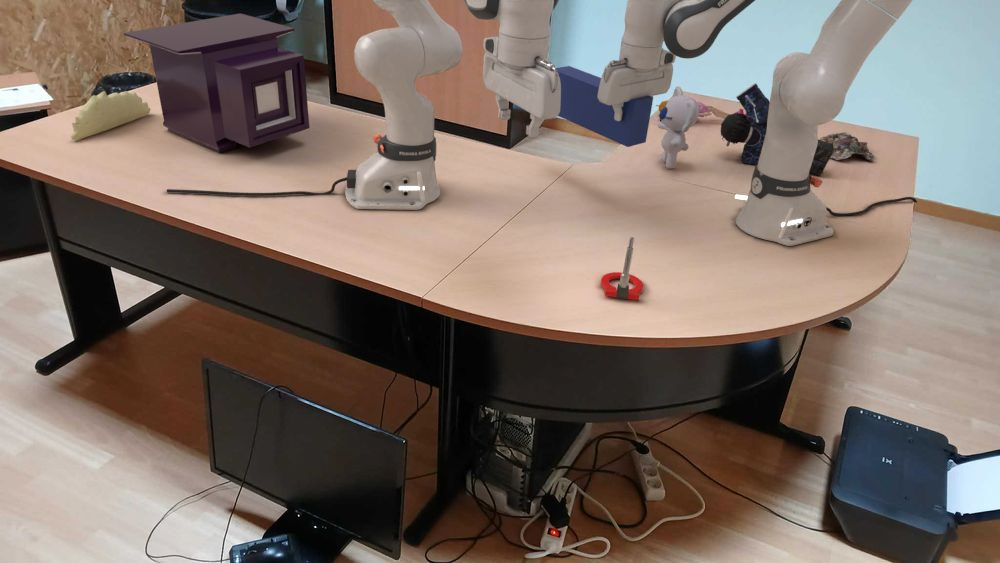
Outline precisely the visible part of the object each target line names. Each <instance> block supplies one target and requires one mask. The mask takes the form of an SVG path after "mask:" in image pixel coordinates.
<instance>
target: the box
mask: <svg viewBox="0 0 1000 563" xmlns="http://www.w3.org/2000/svg"><path fill="white" fill-rule="evenodd" d="M555 69H556V71H557V72H558V74H559V78H560V83H561V105H560V113H559V114H558V116H557V117H559V118H561V119H564V120H566V121H568V122H570V123H573V124H575V125H577V126H580V127H581V128H584V129H586V130H589V131H591V132H593V133H595V134H598V135H600V136H601V137H604V138H606V139H608V140H611V141H613V142H615V143H617V144H620V145H621V146H624V147H627V148H630V147H634V146H638V145H642V144H644V143H646V142H647V138H648V132H649V131H648V130H649V125H650V119H651V114H652V108H653V102H654V96H653V97H651V96H645V97H640V98H635V99H631V100H630V101H627V102H624V104H623V107H621V108H622V112H623V113H625V116H624V120H622V121H616V120H615V119H614V115H615V112H614V109H613V106H612V105H606V104H604V103H601V102H600V101H599V100H598V90H599V85H600V81H601V77H599V76H597V75H595V74H592V73H589V72H586V71H584V70H581V69H579V68H576V67H573V66H571V65H567V66H561V67H555Z"/></svg>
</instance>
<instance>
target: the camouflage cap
mask: <svg viewBox="0 0 1000 563" xmlns="http://www.w3.org/2000/svg"><path fill="white" fill-rule="evenodd" d="M819 140H821V141H824V142H827V143H831V144H833V148H834V152H833V153H832V155H831V157H830V159H832V160H835V161H839V160H840V161H841V160H844V159H848V158H851V157H852V155H853V154H854V155H857V154H859V155H860V156H861V158H863V159H865V160H866V161H871V162H874V160H875V159H874V158H875V155H874V154H873V153H872V152H871V151H870V149H869V147H868V142H867V141H859V139H858V137H855V136H853V135H852V134H851V133H849V132H848V131H846V132H844V131H843V132H836V133H830V134H827V135H826V136H822V137H820V138H819ZM873 157H874V158H873Z"/></svg>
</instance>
